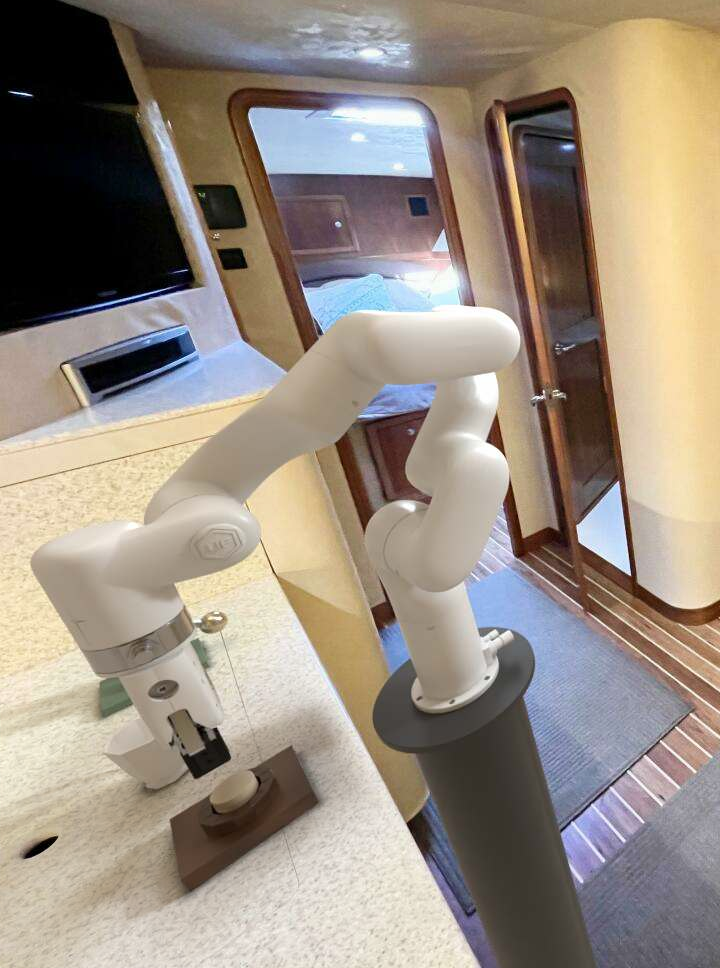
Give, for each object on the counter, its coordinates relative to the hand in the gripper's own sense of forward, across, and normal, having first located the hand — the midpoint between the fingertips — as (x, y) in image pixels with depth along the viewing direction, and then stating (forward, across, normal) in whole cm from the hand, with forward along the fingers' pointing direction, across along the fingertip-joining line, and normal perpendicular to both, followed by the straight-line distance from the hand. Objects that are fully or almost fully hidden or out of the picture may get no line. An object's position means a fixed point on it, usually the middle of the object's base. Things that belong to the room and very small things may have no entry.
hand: (212, 765), depth 61 cm
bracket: (+10, +42, +4) cm, 43 cm away
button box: (+9, 0, -1) cm, 9 cm away
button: (+6, 0, -1) cm, 6 cm away
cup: (+10, +18, +5) cm, 21 cm away
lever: (+4, +42, +1) cm, 42 cm away
